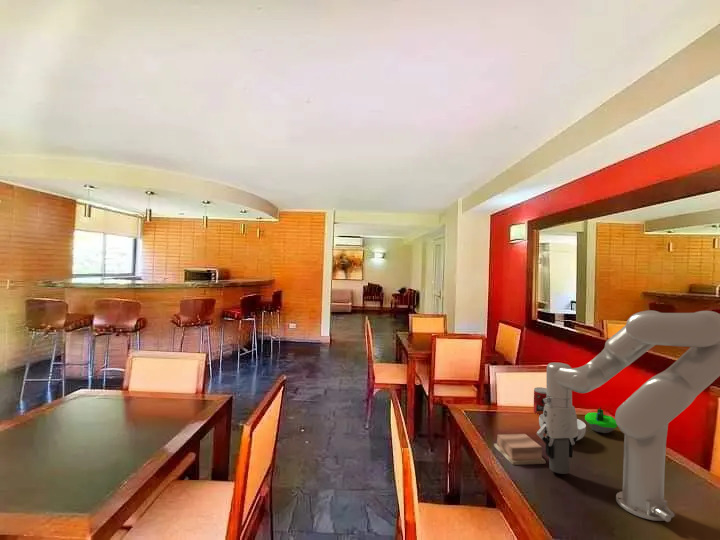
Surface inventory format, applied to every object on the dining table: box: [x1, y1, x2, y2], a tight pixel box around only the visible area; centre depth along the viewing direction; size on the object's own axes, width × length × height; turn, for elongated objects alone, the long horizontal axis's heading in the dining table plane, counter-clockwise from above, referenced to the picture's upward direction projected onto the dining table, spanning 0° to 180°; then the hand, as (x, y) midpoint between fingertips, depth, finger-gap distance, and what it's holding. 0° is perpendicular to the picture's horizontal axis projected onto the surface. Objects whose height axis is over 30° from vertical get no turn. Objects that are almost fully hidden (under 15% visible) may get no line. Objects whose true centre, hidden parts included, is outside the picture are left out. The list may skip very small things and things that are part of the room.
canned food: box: [533, 386, 547, 416], centre depth 184 cm, size 8×8×11 cm
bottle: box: [548, 438, 570, 475], centre depth 129 cm, size 6×6×15 cm
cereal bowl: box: [538, 414, 587, 442], centre depth 157 cm, size 17×17×7 cm
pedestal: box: [493, 433, 547, 466], centre depth 142 cm, size 14×12×5 cm
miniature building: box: [584, 407, 618, 434], centre depth 164 cm, size 12×12×11 cm
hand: (559, 455), depth 129 cm, fingers closed on bottle, 5 cm apart
